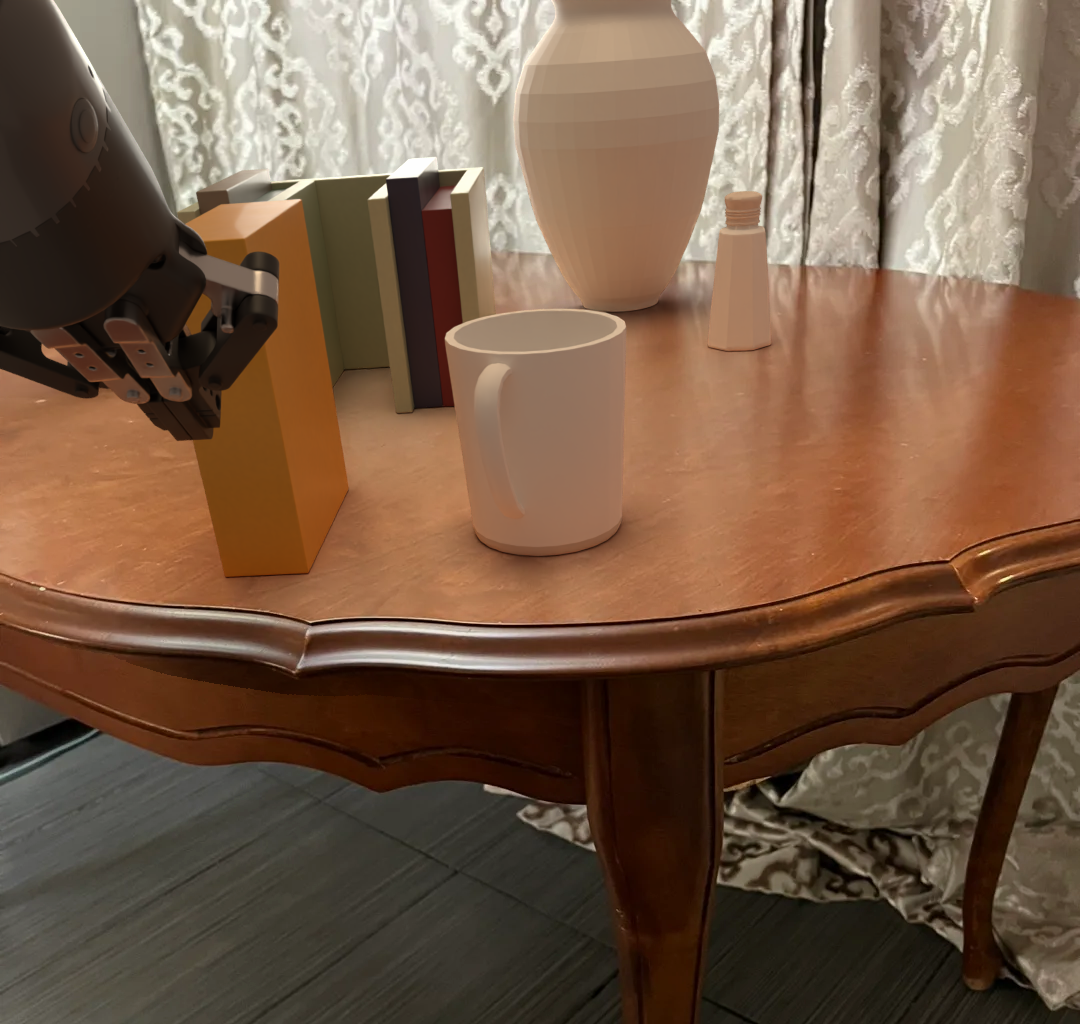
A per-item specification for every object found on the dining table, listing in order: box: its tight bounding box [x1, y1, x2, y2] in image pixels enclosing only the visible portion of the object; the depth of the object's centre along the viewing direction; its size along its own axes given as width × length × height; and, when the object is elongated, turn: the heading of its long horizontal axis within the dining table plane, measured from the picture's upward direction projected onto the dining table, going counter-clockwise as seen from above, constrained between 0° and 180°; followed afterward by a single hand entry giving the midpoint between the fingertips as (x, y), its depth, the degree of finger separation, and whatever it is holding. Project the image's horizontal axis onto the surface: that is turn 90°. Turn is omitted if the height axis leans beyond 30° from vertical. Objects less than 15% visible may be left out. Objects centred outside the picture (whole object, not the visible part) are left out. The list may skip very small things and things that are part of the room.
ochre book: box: [186, 199, 350, 578], centre depth 58 cm, size 4×12×16 cm, turn 178°
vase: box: [512, 0, 720, 313], centre depth 98 cm, size 18×18×25 cm
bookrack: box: [176, 156, 497, 414], centre depth 82 cm, size 19×14×15 cm
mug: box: [445, 308, 627, 557], centre depth 57 cm, size 11×9×10 cm
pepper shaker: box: [707, 190, 772, 352], centre depth 87 cm, size 5×5×11 cm
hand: (196, 420), depth 48 cm, fingers closed
